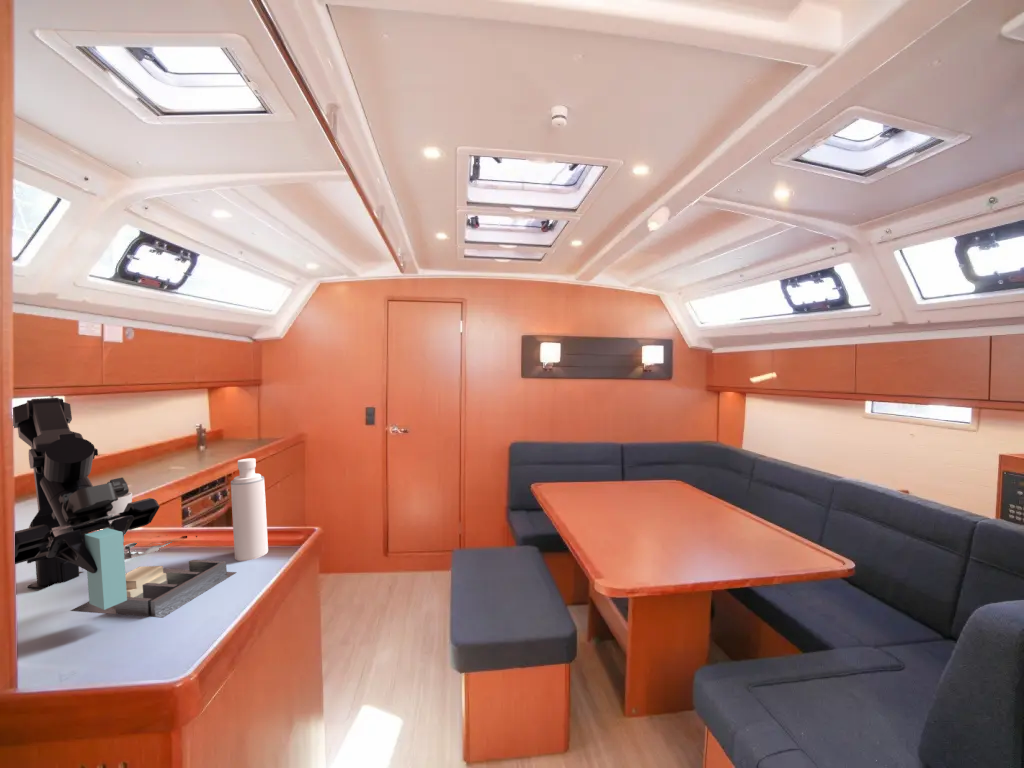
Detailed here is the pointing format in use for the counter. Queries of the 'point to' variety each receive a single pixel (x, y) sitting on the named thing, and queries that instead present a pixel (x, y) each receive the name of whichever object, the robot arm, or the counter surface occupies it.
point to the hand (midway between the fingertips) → (108, 567)
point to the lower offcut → (139, 590)
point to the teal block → (106, 568)
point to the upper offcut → (142, 576)
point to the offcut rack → (169, 590)
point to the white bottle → (249, 512)
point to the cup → (120, 504)
